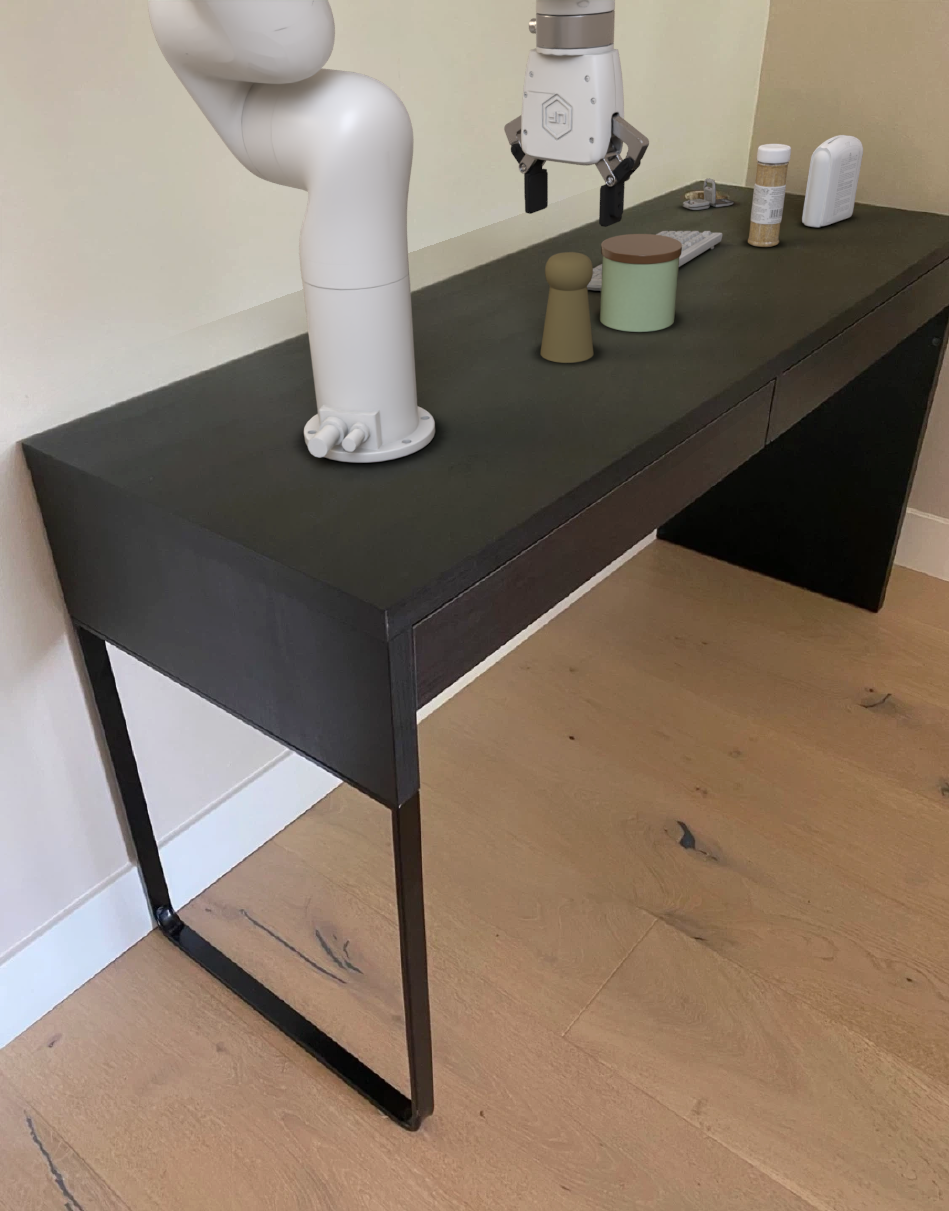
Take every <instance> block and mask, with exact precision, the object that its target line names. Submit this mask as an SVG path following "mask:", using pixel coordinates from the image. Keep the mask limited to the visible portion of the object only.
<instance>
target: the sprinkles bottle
mask: <svg viewBox="0 0 949 1211" xmlns="http://www.w3.org/2000/svg"><path fill="white" fill-rule="evenodd" d="M756 151H757V153H756V161H757V162H756V171H755V178H754V179H755V180H754V186H753V192H752V194H753V195H752V202H751V203H752V204H751V211H750V224H749V234H748V238H747V243H748V244H749V245H751V246H752V247H758V248H772V247H775V246H777V245H778V244H779V243H780V240H779V239H780V238H779V237H780V230H781V223H782V219H783V211H784V205H785V204H784V203H785V196H786V190H787V189H786V188H787V177H788V176H787V175H788V166H789V162H790V160H791V154H792V147H791V146H790V145H788V144H783V143H766V144H761V145H759V146H758V147H757V150H756Z"/></svg>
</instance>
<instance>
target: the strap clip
mask: <svg viewBox="0 0 949 1211" xmlns="http://www.w3.org/2000/svg"><path fill="white" fill-rule="evenodd" d="M708 183H710V184H712V185H711V186H709V185H708ZM716 186H717V185H716V181H715V179H712V178H704V181H703V199H702V198H696V199H688V200H685V201H683V202H682V207H683V208H685V209H688V210H692V211H700V210H706V209H709V208H710V206H712V207H715V208H722V207H729V206H732V205H733V204H734V203H735V202H734V200H731V199H728V198H717V187H716Z"/></svg>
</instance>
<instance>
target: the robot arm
mask: <svg viewBox="0 0 949 1211" xmlns="http://www.w3.org/2000/svg"><path fill="white" fill-rule="evenodd" d="M615 9H616V0H535V17H533V18H530V20H529V22H528V30H529V32H530V33H531V34H534V35H535V48H532V49H530V50H529V51H528V56H527V61H526V65H525V72H524V78H523V79H524V80H523V88H522V89H523V90H522V101H521V115H519V116H517V117H516V118H514V119H512V120H510V121H509V122H508V123H506V124H505V125H504V128H503V130H504V133H505V136H506V139H507V141H508V144H509V146H510V153H511V155H512V156H513V158H514V159H515V160H516V162H517V164H518V171H519V172H520V173H521V174H523V182H524V183H523V184H524V187H523V190H524V195H523V196H524V212H525V214H529V215H530V214H531V215H532V214H534V213H537V212H540V211H543V210H545V209H547V208H548V203H549V181H548V180H549V173H548V169H547V168H543V166H545V164H546V162H554V163H562V164H569V165H577V166H585V167H586V166H592V165H595V167H596V169H597V171H598V172H599V174H600V176H601V177H602V179H603V181H604V183H605V184H603V185H602V184H601V186H600V188H599V208H598V209H599V213H598V214H599V216H598V218H599V219H598V222H599V223H598V224H599V226H600V227H603V228H607V227H609V226H612V225H615V224H617V223H620V222H621V221H622V219H623V214H624V208H625V206H624V205H625V183H626V182H628V181H629V180H630V178H631V176H632V175H633V174H634V173H635V172H636V171H637V170H638V169H639V167H640V166H641V164H642V162H641V161H642V159H643V158H644V156H645V153H646V151H647V150H648V147H649V145H650V140H649V138H648V137H647V136H645V135H644V134H643V133H642V132H640V131H639V129H637V128H636V127H634V126H633V125H632V124H631V123H629V122H628V121H627V120H626V119H625V99H624V96H625V95H624V80H623V72H622V64H621V57H620V53H619V49H617V48H615V43H614V42H615V17H616V13H615V12H616V11H615ZM147 12H148V17H149V22H150V26H151V30H152V32H153V36H154V38H155V41H156V43H157V46H158V48H159V50H160V52H161V54H162V56H163V57H164V59H165V61H166V62H167V64H168V66H169V67H170V68H171V70H172V71H173V73H174V74H175V76H176V77H177V79H178V81H180V83H181V84H182V86H183V87H184V89H185V90H186V92H187V93H188V94H189V96H190V97H191V99H192V100H193V101H194V103H195V104H196V106H197V107H198V109H199V110H200V112H201V113H202V114H203V116H204V117H205V118H206V119H207V121H208V122H209V124H210V126H211V127H212V128H213V129H214V131H215V132H216V134H217V135H218V137H219V138H220V139H221V141H222V142H223V143H224V145H225V146H226V148H227V149H228V150H229V151H230V153H231V154H232V155H233V156H234V158H235V159H236V160H237V161H238V163H240V164H241V165H242V166H243V167H244V168H245V169H246V170H247V171H248V172H250V173H251V174H253V175H254V176H256V177H258V178H259V179H261V180H264V181H266V182H269V183H272V184H275V185H279V186H282V187H288V188H293V189H298V190H300V191H301V190H302V191H305V192H307V195H308V196H307V203H306V208H305V212H304V216H303V220H302V223H301V228H300V232H299V239H298V240H299V241H298V257H299V258H298V259H299V268H300V269H299V270H300V277H301V283H302V292H303V300H304V309H305V316H306V325H307V334H308V342H309V350H310V351H309V352H310V358H311V359H310V360H311V368H312V375H313V382H314V383H313V384H314V391H315V392H314V393H315V400H316V410H317V413H316V414H314V415H313V416H312V417H311V418H310V419H309V420H308V421H307V422H306V424H305V425H304V426H303V436H304V442H305V443H304V444H305V445H306V446H307V449H308V451H309V453H310V454H311V455H312V456H313V457H315V458H319V459H320V458H326V459H328V460H330V461H337V462H342V463H352V464H363V463H364V464H370V463H380V462H386V461H393V460H397V459H400V458H404V457H407V456H409V455H412V454H414V453H416V452H418V451H420V450H422V449H424V448H425V447H426V446H427V445H429V443H431V441H432V440H433V438H435V434H436V422H435V421H436V420H435V419H434V416H433V415H432V414H431V413H430V412H429V411H427V410H426V409H424V408H423V407H420V406H418V395H417V394H418V392H417V380H416V379H417V378H416V375H417V374H416V360H415V359H416V358H415V343H414V342H415V341H414V329H413V328H414V326H413V325H414V324H413V309H412V292H411V276H410V264H409V263H410V262H409V245H408V244H409V243H408V201H409V200H408V199H409V189H410V182H411V174H412V167H413V159H414V129H413V124H412V121H411V117H410V114H409V111H408V110H407V107H406V105H405V103H404V101H402V100H401V98H400V97H399V95H398V94H397V93H396V92H395V91H394V90H393V89H392V88H391V87H390V86H388V85H387V84H386V83H384V82H383V81H380V80H379V79H377V78H374V77H372V76H370V75H367V74H365V73H364V74H362V73H360V72H355V71H347V70H341V69H340V70H339V69H330V68H324V66H325V65H326V64H327V63H328V61H329V60H330V57H331V56H332V53H333V50H334V45H335V40H336V38H335V37H336V24H335V17H334V13H333V10H332V7H331V4H330V1H329V0H147ZM624 144H625V145H626V146H627V152H626V155H625V158H622V155H621V153H622V151H623V146H624Z"/></svg>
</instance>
